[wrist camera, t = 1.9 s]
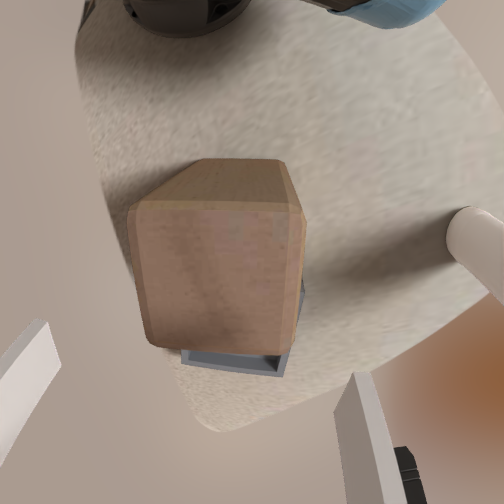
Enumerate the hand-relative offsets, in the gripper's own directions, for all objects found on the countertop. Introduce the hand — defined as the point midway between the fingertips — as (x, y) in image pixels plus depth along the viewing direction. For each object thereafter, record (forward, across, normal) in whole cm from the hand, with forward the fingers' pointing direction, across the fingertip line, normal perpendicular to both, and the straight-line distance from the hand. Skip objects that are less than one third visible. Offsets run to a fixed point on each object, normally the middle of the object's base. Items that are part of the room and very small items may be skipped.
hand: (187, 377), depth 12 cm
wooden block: (+26, 0, 0) cm, 26 cm away
